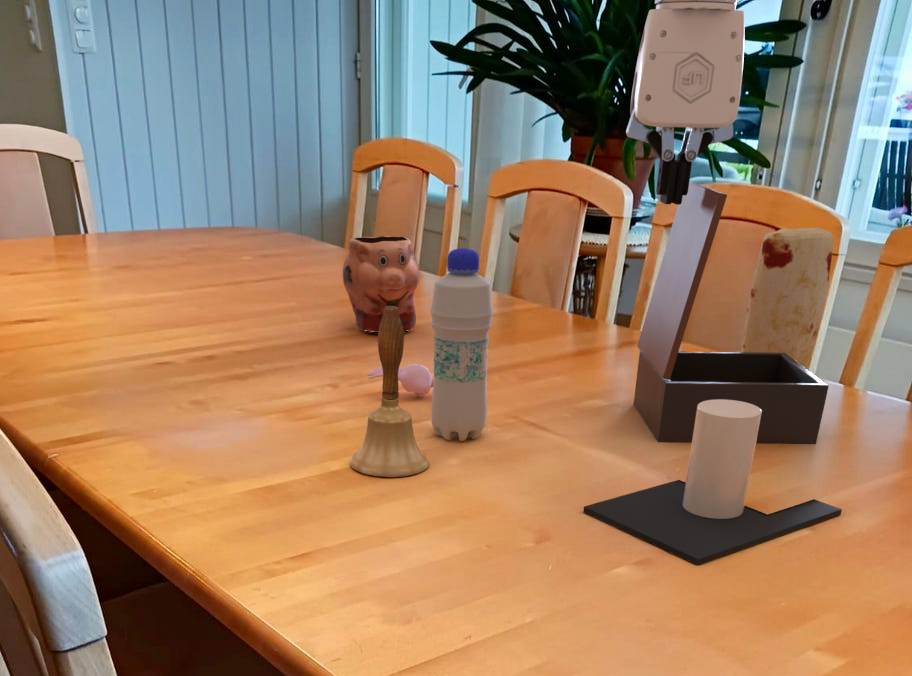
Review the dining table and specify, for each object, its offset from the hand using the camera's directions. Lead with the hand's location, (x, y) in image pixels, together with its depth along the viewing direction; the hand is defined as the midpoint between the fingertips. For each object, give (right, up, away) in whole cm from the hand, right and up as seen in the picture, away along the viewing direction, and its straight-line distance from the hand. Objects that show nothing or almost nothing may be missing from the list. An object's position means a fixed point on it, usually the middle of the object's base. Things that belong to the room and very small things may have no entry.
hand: (670, 202), depth 102 cm
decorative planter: (-33, +5, +57) cm, 67 cm away
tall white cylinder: (+1, -33, -11) cm, 35 cm away
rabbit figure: (-26, -15, +23) cm, 37 cm away
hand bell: (-30, -28, 0) cm, 40 cm away
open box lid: (+2, -7, +4) cm, 8 cm away
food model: (+21, -12, +29) cm, 38 cm away
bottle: (-22, -23, +9) cm, 33 cm away
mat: (+1, -34, -10) cm, 36 cm away
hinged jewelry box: (+9, -21, +12) cm, 26 cm away
